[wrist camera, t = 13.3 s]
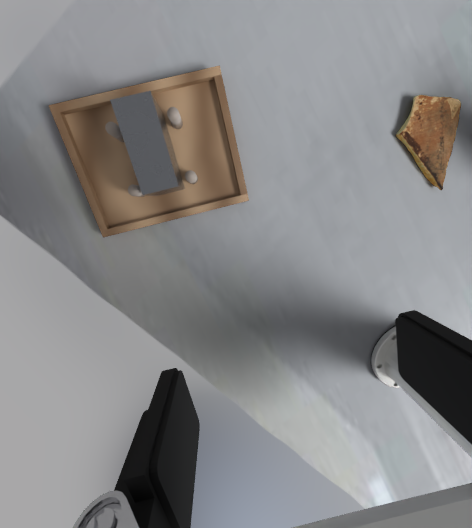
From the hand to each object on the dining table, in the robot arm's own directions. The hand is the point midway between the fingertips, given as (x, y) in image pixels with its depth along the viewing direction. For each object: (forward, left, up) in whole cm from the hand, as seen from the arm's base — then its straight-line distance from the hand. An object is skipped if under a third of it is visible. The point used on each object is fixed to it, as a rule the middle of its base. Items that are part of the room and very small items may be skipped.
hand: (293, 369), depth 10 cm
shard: (-29, -8, -24) cm, 38 cm away
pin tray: (+6, -13, -23) cm, 27 cm away
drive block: (+6, -13, -22) cm, 26 cm away
